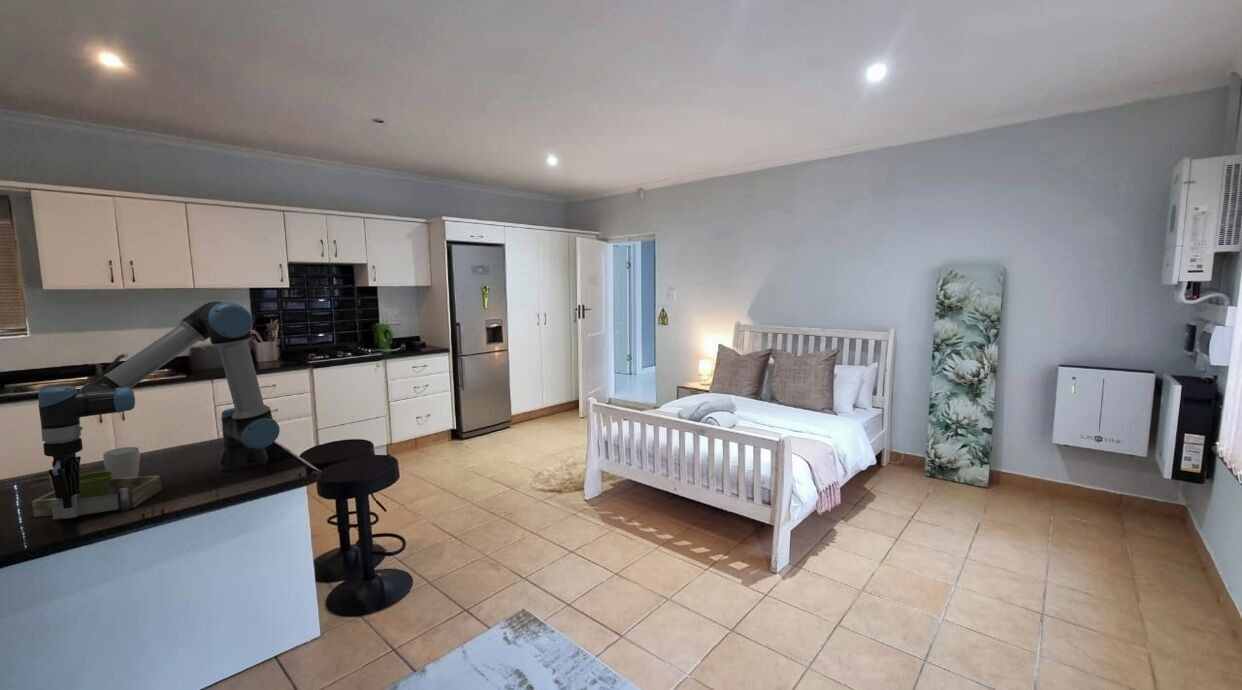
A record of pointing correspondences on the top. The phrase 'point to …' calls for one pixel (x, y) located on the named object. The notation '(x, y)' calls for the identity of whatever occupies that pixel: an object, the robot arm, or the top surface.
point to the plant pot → (94, 484)
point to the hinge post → (124, 498)
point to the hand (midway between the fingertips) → (70, 516)
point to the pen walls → (137, 489)
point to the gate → (89, 505)
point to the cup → (122, 462)
